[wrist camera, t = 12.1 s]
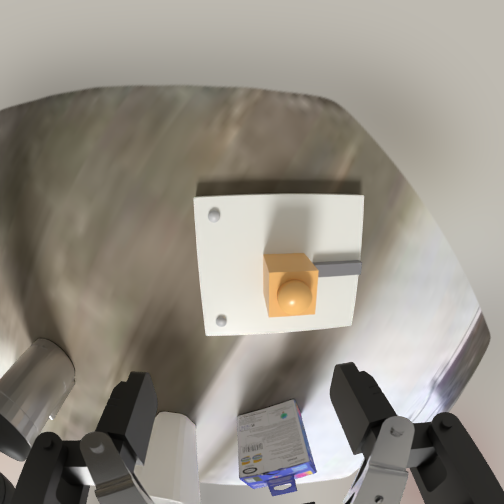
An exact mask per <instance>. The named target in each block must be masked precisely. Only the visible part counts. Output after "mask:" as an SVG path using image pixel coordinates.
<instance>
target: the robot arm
mask: <svg viewBox="0 0 504 504" xmlns="http://www.w3.org/2000/svg"><path fill="white" fill-rule="evenodd" d="M74 376H75V371H74V367H73V365H72V363H71V361H70V359H69V358H68V356H67V355H66V354H65V353H64V352H63V351H62V349H60V348H59V347H58V346H57V345H56V344H54V343H53V342H51V341H49V340H47V339H41V338H40V339H37V340H36V341H35V342H34V343H33V344H32V345H31V346H30V347H29V348H28V349H27V350H26V351H25V352H24V353H23V354H22V355H21V356H20V358H19V359H18V360H17V361H16V362H15V363H14V364H13V365H12V366H11V367H10V369H9V370H8V371H7V372H6V373H5V374H4V375H3V377H2V378H1V379H0V452H2V453H4V454H6V455H7V456H9V457H11V458H13V459H15V460H17V461H25V460H26V462H25V464H24V467H23V469H22V472H21V474H20V477H19V480H18V483H17V485H16V488H14V486H13V485H12V483H11V482H10V481H9V480H8V479H7V478H6V477H5V476H4V475H3V474H2V473H0V504H86V502H87V497H88V492H89V488H90V485H95V486H96V490H95V495H96V497H97V499H98V501H99V503H100V504H155V503H154V502H153V500H152V499H151V497H150V496H149V494H148V493H147V491H146V490H145V489H144V487H143V485H142V484H141V482H140V481H139V479H138V478H137V476H136V474H135V473H134V468H135V465H141V466H144V463H145V459H146V454H147V450H148V445H149V441H150V437H151V432H152V428H153V424H154V420H155V416H156V412H157V406H158V401H157V395H156V392H155V389H154V386H153V383H152V380H151V376H150V374H149V373H148V372H135V371H132V372H131V373H130V375H129V378H128V380H127V382H122V381H121V382H120V383H119V384H118V385H117V386H116V387H115V388H114V389H113V391H112V393H111V395H110V399H109V400H108V402H107V406H106V407H105V409H104V411H103V414H102V416H101V418H100V421H99V423H98V425H97V428H96V430H95V432H90V433H88V434H86V435H85V436H84V437H83V438H82V439H81V440H78V441H62V440H61V438H60V437H59V436H58V435H57V434H55V433H53V432H44V433H41V431H42V429H43V427H44V426H45V424H46V422H47V421H48V419H50V420H53V419H54V418H55V416H56V415H57V413H58V411H59V409H60V408H61V406H62V404H63V403H64V401H65V399H66V398H67V396H68V395H69V393H70V391H71V390H72V388H73V386H74V385H75V382H74ZM330 398H331V402H332V404H333V406H334V409H335V411H336V414H337V416H338V418H339V421H340V423H341V425H342V428H343V430H344V433H345V435H346V437H347V440H348V442H349V445H350V447H351V449H352V452H353V454H354V455H356V454H359V453H363V455H364V459H363V461H362V464H361V466H360V468H359V471H358V473H357V475H356V477H355V479H354V482H353V484H352V486H351V488H350V490H349V492H348V494H347V495H346V497H345V499H344V500H343V502H342V504H400V501H401V498H402V495H403V492H404V489H405V485H406V482H407V479H408V472H407V471H406V468H410V470H411V472H412V474H413V477H414V479H415V481H416V484H417V486H418V488H419V491H420V493H421V495H422V498H423V500H424V502H425V504H504V491H503V489H502V488H501V486H500V484H499V482H498V480H497V479H496V477H495V475H494V474H493V472H492V470H491V468H490V467H489V465H488V464H487V462H486V460H485V459H484V457H483V456H482V454H481V452H480V451H479V449H478V448H477V446H476V445H475V443H474V441H473V440H472V438H471V437H470V435H469V434H468V432H467V431H466V429H465V428H464V426H463V425H462V423H461V422H460V421H459V419H458V418H457V417H456V416H455V415H453V414H452V413H448V412H442V413H439V414H437V415H436V416H435V417H434V418H433V420H432V422H425V423H412V422H411V421H410V420H409V419H407V418H405V417H402V416H397V414H396V413H395V411H394V409H393V408H392V406H391V405H390V403H389V401H388V400H387V398H386V397H385V395H384V394H383V393H382V390H381V389H380V387H379V386H378V384H377V383H376V381H375V380H374V378H373V377H372V376H371V375H369V374H368V373H367V372H365V371H361V372H359V370H358V369H357V367H356V366H355V364H354V363H353V362H349V363H343V364H337V365H336V366H335V368H334V373H333V378H332V382H331V387H330ZM40 433H41V434H40ZM39 434H40V435H39ZM305 504H315V502H310V503H305Z"/></svg>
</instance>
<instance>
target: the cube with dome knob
mask: <svg viewBox="0 0 504 504" xmlns="http://www.w3.org/2000/svg"><path fill="white" fill-rule="evenodd" d="M318 272H319V270H318V269H317V268H316V267H315V266H314V264H313V263H312V262H311V261H310V259H309V258H308V257H307V256H306V255H305V253H287V254H263V294H264V298H265V303H266V307H267V312H268V316H269V317H285V316H300V315H313V314H315V310H316V298H317V286H318Z"/></svg>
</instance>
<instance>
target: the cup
mask: <svg viewBox="0 0 504 504" xmlns="http://www.w3.org/2000/svg"><path fill="white" fill-rule="evenodd" d="M134 473H135V474H136V476H137V478H138V479H139V481H140V482H141V484H142V485H143V487H144V489H145V490H146V491H147V493H148V494H149V496H150V497H151V499H152V500H153V502H154V503H155V504H201V499H200V489H199V476H198V461H197V443H196V425H195V424H194V423H193V422H192V421H191V420H190V419H189V418H188V417H187V416H185V415H183V414H179V413H171V412H160V413H159V414H158V415H157V416H156V417H155V420H154V424H153V428H152V432H151V437H150V441H149V445H148V450H147V454H146V459H145V463H144V466H141V465H135V468H134Z"/></svg>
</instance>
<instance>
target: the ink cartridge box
mask: <svg viewBox="0 0 504 504" xmlns="http://www.w3.org/2000/svg"><path fill="white" fill-rule="evenodd" d="M237 432H238V458H239V478H240V480H242V481H243V482H245V483H246V484H247V485H248V486H250V487H251V488H253V489H255V488H260V487H265V486H268V487H269V489H270V492H271V494H272V496H276V495H281V494H286V493H290V492H294V491H297V488H296V483H295V479H297V478H301V477H304V476H307V475H311V474H314V473H317V471H316V468H315V465H314V461H313V458H312V454H311V450H310V447H309V443H308V439H307V436H306V432H305V429H304V425H303V421H302V416H301V412H300V410H299V408H298V406H297V403H296V401H295V400H293V399H292V400H290V401H287V402H284V403H281V404H278V405H274V406H271V407H268V408H265V409H261V410H258V411H254V412H251V413H247V414H244V415H240V416H237ZM288 483H291V484H292V486H291V487H289V488H287V489H284V490H274V487H275V486H279V485H284V484H288Z"/></svg>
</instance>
